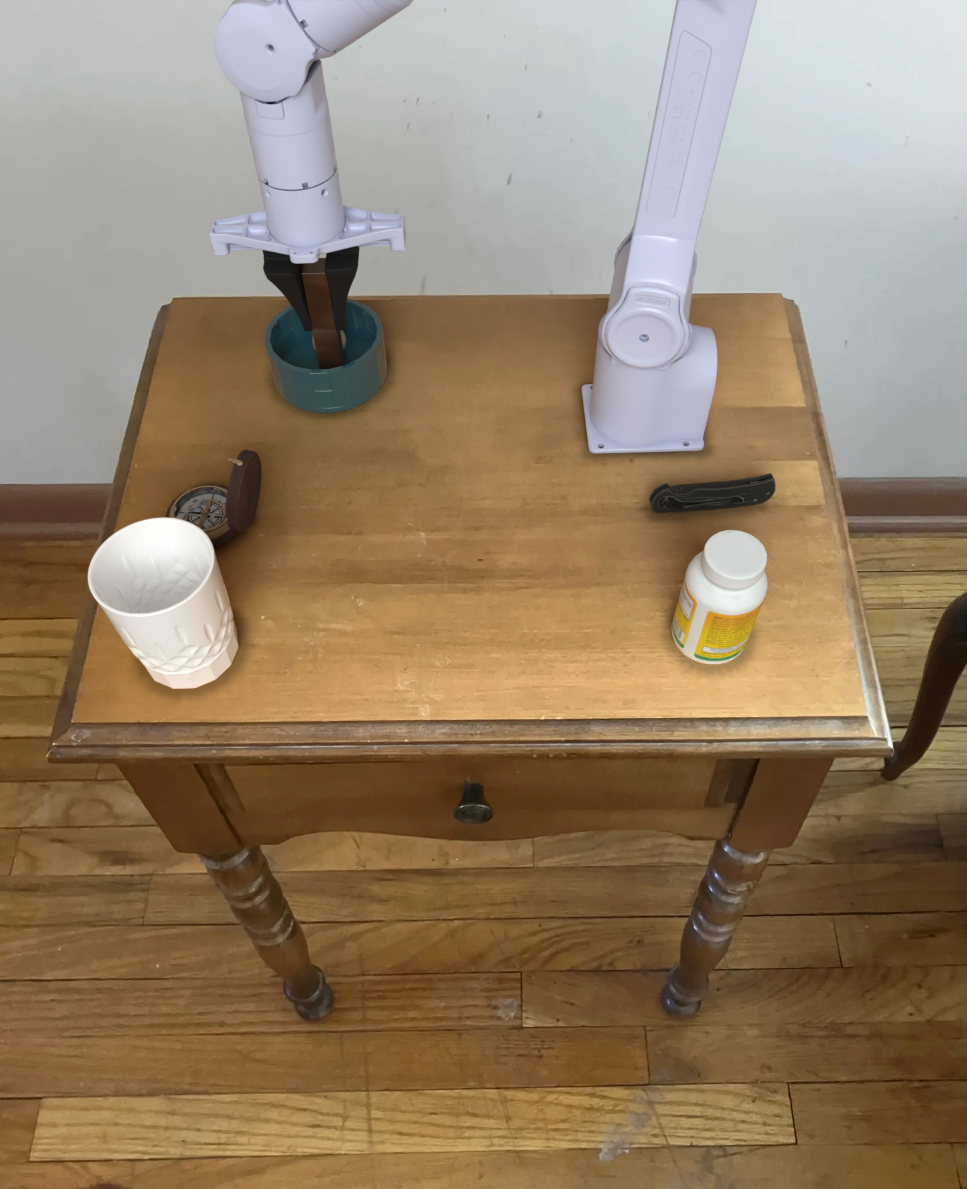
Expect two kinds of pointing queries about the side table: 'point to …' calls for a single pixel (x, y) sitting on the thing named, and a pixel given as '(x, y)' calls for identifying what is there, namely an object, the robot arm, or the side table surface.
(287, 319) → the bowl
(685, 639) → the supplement bottle
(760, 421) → the side table surface
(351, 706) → the side table surface
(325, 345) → the stirring stick
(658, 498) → the folding knife
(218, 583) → the white cup
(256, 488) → the compass
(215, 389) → the side table surface
